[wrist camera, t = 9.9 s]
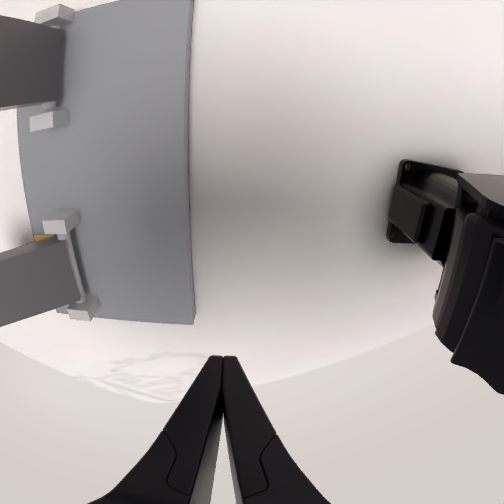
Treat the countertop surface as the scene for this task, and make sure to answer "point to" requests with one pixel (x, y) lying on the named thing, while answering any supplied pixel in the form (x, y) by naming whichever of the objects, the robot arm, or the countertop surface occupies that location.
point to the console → (117, 158)
